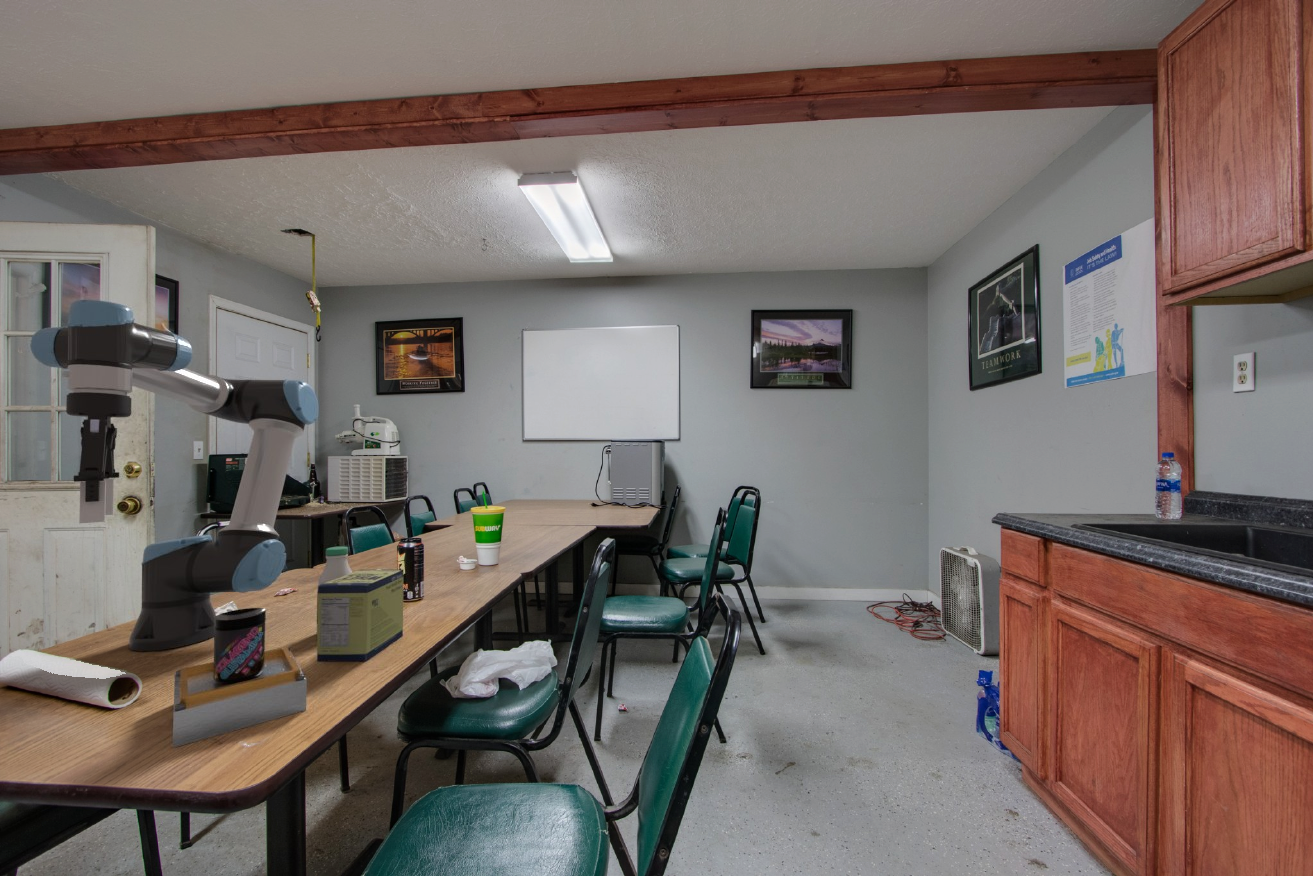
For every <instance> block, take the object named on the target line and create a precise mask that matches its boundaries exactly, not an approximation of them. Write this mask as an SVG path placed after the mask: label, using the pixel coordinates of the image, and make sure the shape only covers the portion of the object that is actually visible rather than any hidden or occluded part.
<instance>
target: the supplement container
mask: <svg viewBox="0 0 1313 876" xmlns="http://www.w3.org/2000/svg"><path fill="white" fill-rule="evenodd" d="M266 612H267V610H266V608H262V607H248V608H240V609H234V610H229V611H225V612H222V613H219V614H216V616H215V618H214V636H213V662H214V663H213V679H214V681H215V682H216V683H218V684H235V683H240V682H244V681H247V680H250V679H253V678H255V677H257V676H259V675H260V674H261V673H262V672H263V670H264V655H265V651H266V647H265V646H266V645H265V643H266V642H265V641H266V620H267V619H266Z"/></svg>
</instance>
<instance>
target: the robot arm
mask: <svg viewBox="0 0 1313 876" xmlns="http://www.w3.org/2000/svg"><path fill="white" fill-rule="evenodd" d="M68 312H69V313H68V318H67V322H66V325H65V326H64V325H63V326H58V327H57V326H56V327H55V326H54V327H45V328H41V329H39V330H37V331H35V332H34V334H33V335H32V336H31V340H30V347H29V348H30V351H31V354H32V355H33V357H34V358H35V359H36V360H37V361H38V362H39V363H41V364H42V365H44V366H47V367H50V368H58V369H62V370H63V369H64V370H65V369H66V370H67V369H68V370H69V371H64V370H63V371H62V373H61V377H63V378H67V385H66V386H67V388H66V389H68V390H70V391H72V392H68V394H66V401H65V402H66V407H65V409H66V410H65V412H66V414H67V415H69V416H73V417H86V419H83V421H82V426H80V437H81V441H80V445H81V453H80V462H79V463H80V465H79V472H78V473H77V474H76V475H75V474H74V475H73V482H74V483H75V482H77V483H78V482H79V483H80V484H79V517H78V518H79V520H78V521H79V524H89V523H91V524H93V523H94V524H95V523H104V522H106V516H111V515H112V516H113V515H114V493H115V492H114V488H115V479H119V478H120V471H119V472H118V471H116V469H115V449H116V439H117V435H118V428H117V427H115V425H114V423H112V420H111V418H128V417H131V416H132V399H133V398H132V397H130V395H128V394H131V393H132V392H133V387H135V388H138V389H141V390H144V391H148V392H150V393H154V394H157V395H160V396H162V397H165V398H169V399H173V400H174V401H175V400H176V401H178V402H181V403H184V404H188V406H189V407H190V408H191V409H192V410H194V411H196V412H198V413H201V414H205V415H209V416H212V417H215V418H218V419H221V420H225V421H229V422H234V423H238V424H239V423H240V424H247V425H248V426H249V427H250V429H251V430H252V431H253V435H252V439H251V442H250V447H249V450H248V452H247V458H246V461H245V464H244V468H243V471H242V475H241V480H240V483H239V487H238V491H237V493H236V498H235V502H234V506H233V509H232V512H231V517H230V519H229V523H228V525H226V526H225V527H223V528H221V529H219V530H218V533H217V536H216V540H215V541H213V538H212V535H210V534H201V535H196V536H188V537H187V536H186V537H182V538H175V539H169V540H164V541H158V542H153V543H151V544H149V545H147V546H146V547H145V548H144V549H143V556H142V562H141V607H140V608H141V609H140V613H139V616H138V618H137V619H136V622H135V624H134V627H133V629H132V630H131V633H130V636H129V638H128V640H129V642H128V648H129V650H131V651H136V652H153V651H163V650H169V649H175V648H179V647H180V648H181V647H185V646H190V645H192V644H196V643H199V642H200V643H201V642H203V641H206V640H209V639H211V638H214V618H215V616H217V614H216V612H215V610H214V607H213V604H212V602H211V594H213V593H217V594H218V593H241V594H242V593H243V594H245V593H248V592H256V591H258V592H259V591H263V590H265V589H267V588H269V587H270V586H272V585H273V583H275V582H276V581H277V580H278V578H279V577H280V576H281V573H282V572H283V569H284V568H285V564H286V560H287V553H286V547H285V545H284V543H283V542H282V541H279V538H280V534H279V533H278V532H277V531H276V530H275V528H274V526H275V523H276V519H277V514H278V509H279V506H280V501H281V499H282V498H281V497H282V493H283V489H284V485H285V481H286V477H287V473H288V468H289V465H290V460H291V456H292V451H293V447H294V444H295V440H296V438H298V437H301V436H302V435H303V434H304V431H305V427H306V425H308V426H309V425H312V424H314V423H315V422H316V421H317V419H318V417H319V412H320V410H319V409H320V408H319V406H320V405H319V401H318V398H317V395H316V393H315V391H314V389H313V388H312V386H311V385H310V384H308V383H307V382H306V381H304V380H297V379H296V380H295V379H289V378H288V379H230V378H223V377H220V376H217V375H214V374H205V375H204V374H201V373H198V372H196V371H193V370H192V369H189V368H187V367H188V365H190V364H191V362H192V359H193V354H194V353H193V347H192V345H191V344H190V342H189V341H188V340H187V339H186V338H184V337H183V336H180V335H178V334H176V333H174V332H173V333H172V332H170V331H168V330H161V329H157V328H156V327H155V328H154V327H150V326H147V325H143V324H139V323H136V322H135V318H134V311H133V310H132V309H131V308H129V307H128V306H127V305H124V304H120V303H115V302H111V301H107V300H98V299H77V300H75V301H73V302H71V303H70V306H69V310H68ZM208 638H209V639H208ZM184 645H185V646H184Z"/></svg>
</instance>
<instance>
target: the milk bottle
mask: <svg viewBox="0 0 1313 876" xmlns="http://www.w3.org/2000/svg"><path fill="white" fill-rule="evenodd" d="M348 556H349V547H348V546H332V547H328V548H326V549H325V559H326V562H325V566H324V568H323V571H322V572H321V574H320V577H319V579H318V583H317V587H318V586H319V585H321V584H323V583H326V582H329V581H332V580H334V579H337V578H340V577H342V576H345V575H348V574H350V573H353V571H352V569H351V567H350V565H349V562H348ZM316 594H317V595H316V596H317V597H316V630H317V629H318V590H317V591H316Z"/></svg>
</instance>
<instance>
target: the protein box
mask: <svg viewBox="0 0 1313 876" xmlns="http://www.w3.org/2000/svg"><path fill="white" fill-rule="evenodd" d="M317 591H318V629H317V628H316V635H317V636H316V639H317V643H316V661H317V662H367V661H368V660H370V659H371V658H373V657H374V656H375V655H378V654H379V653H380V652H382V651H383V650H384V649H386V648H387V647H389V646H390V645H392V644H393V643H395V642H397V641H398V640H399V639H400V638H402V637H403V636H404V635H403V634H404V633H403V631H404V630H403V629H404V569H403V568H402V569H358V570H356V571H352V573H350V574H348V575H345V576H342V577H340V578H337V579H334V580H332V581H329V582H326V583H323V584H321V585H319V586H318V585H317Z"/></svg>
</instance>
